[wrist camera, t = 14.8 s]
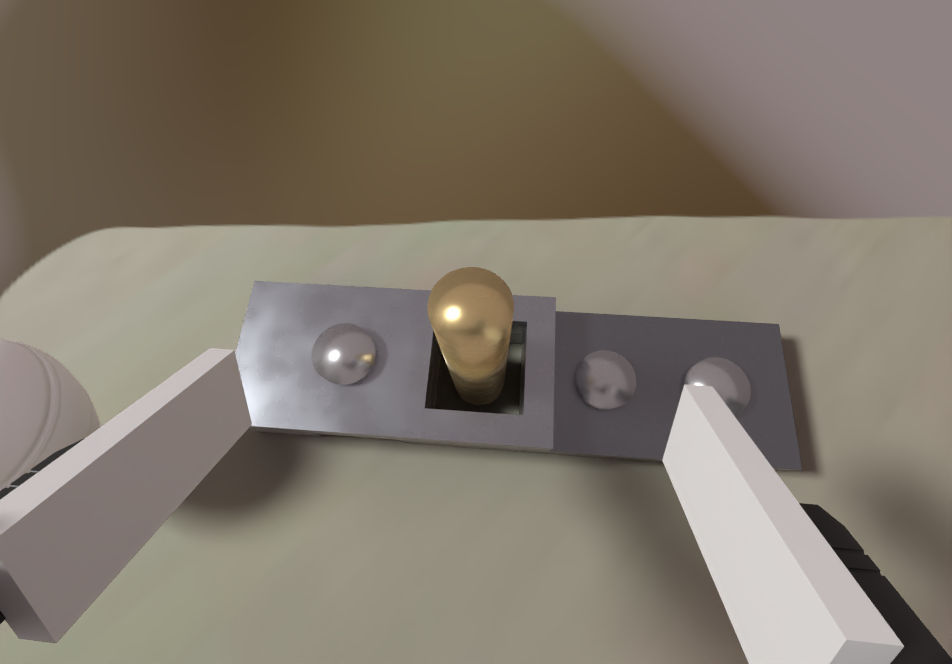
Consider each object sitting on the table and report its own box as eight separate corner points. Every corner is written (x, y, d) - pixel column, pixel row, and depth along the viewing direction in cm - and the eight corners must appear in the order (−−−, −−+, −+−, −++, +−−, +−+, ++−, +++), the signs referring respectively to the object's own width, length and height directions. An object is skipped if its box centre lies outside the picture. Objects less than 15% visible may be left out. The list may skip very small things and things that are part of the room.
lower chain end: (758, 335, 27) (785, 320, 24) (777, 470, 24) (810, 469, 22) (422, 315, 28) (415, 299, 25) (406, 442, 25) (397, 438, 23)
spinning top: (127, 525, 24) (-194, 566, 13) (16, 480, 25) (-372, 482, 14) (195, 396, 26) (-26, 334, 15) (92, 360, 27) (-189, 276, 16)
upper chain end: (546, 322, 27) (557, 293, 23) (543, 453, 25) (554, 447, 20) (286, 307, 28) (248, 276, 24) (257, 431, 26) (209, 421, 21)
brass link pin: (505, 358, 27) (515, 269, 15) (502, 407, 26) (512, 350, 14) (457, 355, 27) (432, 264, 15) (452, 403, 26) (422, 344, 14)
